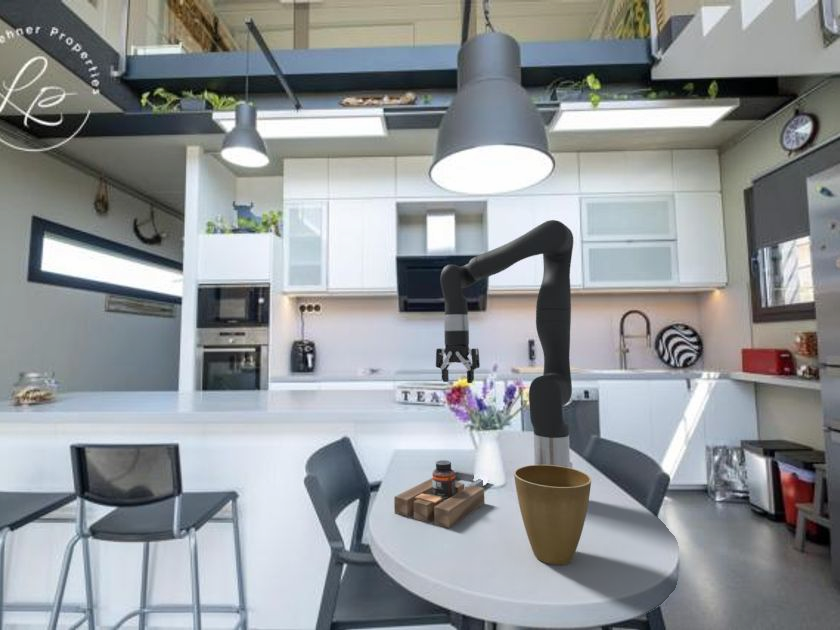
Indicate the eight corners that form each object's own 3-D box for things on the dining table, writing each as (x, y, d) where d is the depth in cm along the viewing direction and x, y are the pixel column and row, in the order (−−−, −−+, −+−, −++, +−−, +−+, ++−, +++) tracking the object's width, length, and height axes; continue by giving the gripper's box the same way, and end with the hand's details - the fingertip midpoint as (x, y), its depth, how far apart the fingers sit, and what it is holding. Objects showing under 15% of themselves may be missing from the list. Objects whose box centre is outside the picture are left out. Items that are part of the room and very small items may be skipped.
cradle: (489, 483, 130) (489, 476, 130) (469, 495, 120) (469, 488, 120) (454, 476, 136) (454, 469, 137) (433, 487, 127) (433, 480, 127)
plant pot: (580, 585, 76) (577, 492, 77) (503, 560, 85) (501, 477, 86) (603, 551, 88) (600, 471, 88) (533, 532, 97) (531, 459, 97)
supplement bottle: (454, 501, 115) (453, 458, 116) (457, 510, 109) (456, 465, 110) (432, 502, 115) (431, 459, 116) (433, 511, 109) (433, 465, 110)
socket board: (484, 503, 114) (484, 486, 114) (448, 528, 99) (448, 509, 99) (433, 491, 123) (433, 476, 123) (394, 512, 108) (394, 495, 109)
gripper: (482, 329, 132) (483, 382, 131) (443, 330, 141) (444, 380, 140) (471, 329, 126) (472, 384, 125) (430, 330, 134) (431, 382, 134)
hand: (457, 382), depth 132 cm, fingers open, 8 cm apart
